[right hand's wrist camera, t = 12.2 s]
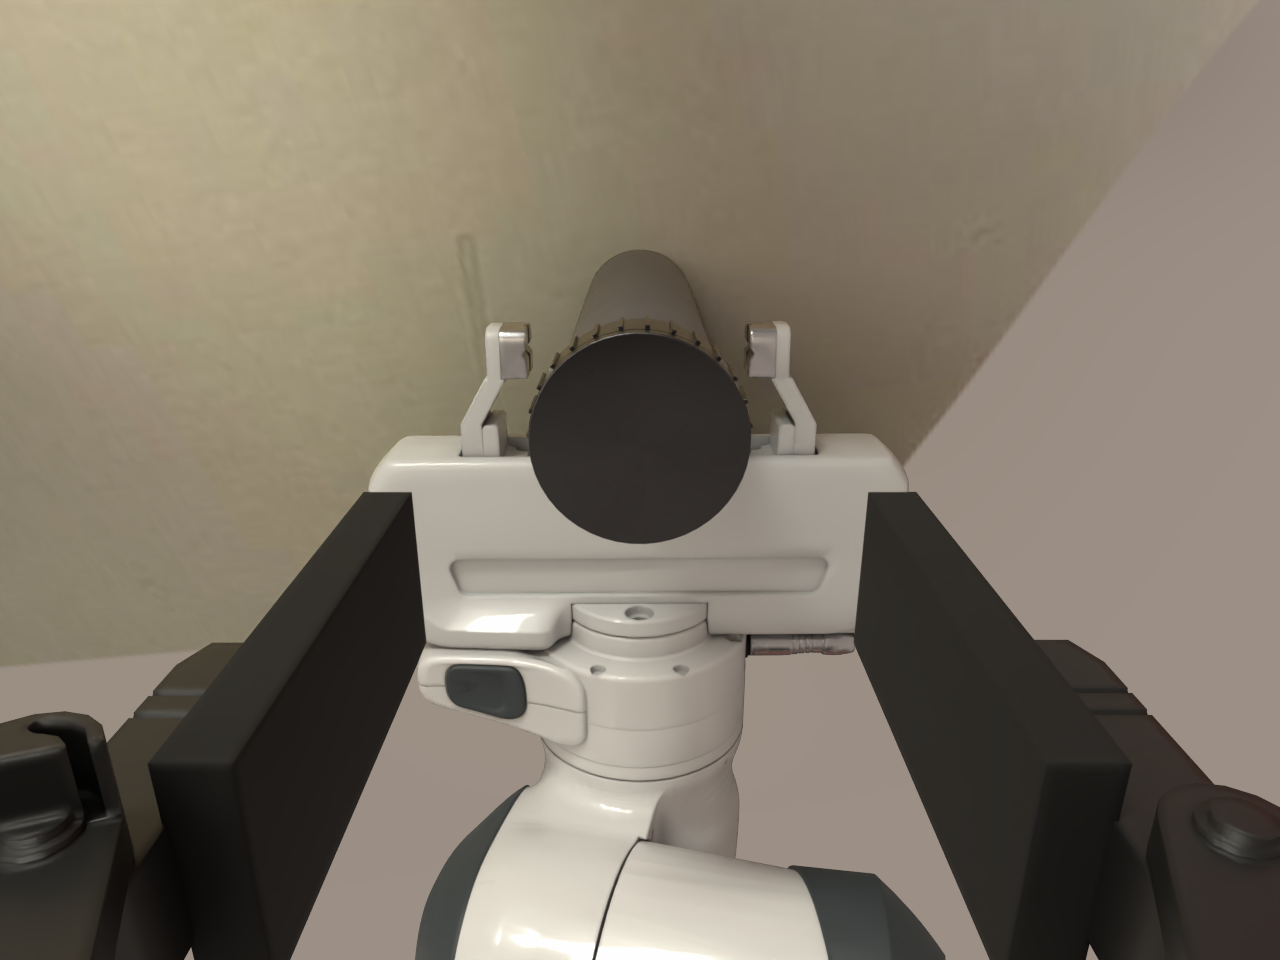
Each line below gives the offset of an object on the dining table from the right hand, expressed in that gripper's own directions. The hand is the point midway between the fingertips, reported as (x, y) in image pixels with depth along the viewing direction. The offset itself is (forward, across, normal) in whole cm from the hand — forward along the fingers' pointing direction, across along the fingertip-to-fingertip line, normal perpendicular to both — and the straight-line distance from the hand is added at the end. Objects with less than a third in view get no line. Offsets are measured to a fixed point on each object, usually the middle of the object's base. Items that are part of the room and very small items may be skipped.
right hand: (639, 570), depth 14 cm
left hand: (+19, 0, 0) cm, 19 cm away
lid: (+7, 0, 0) cm, 7 cm away
